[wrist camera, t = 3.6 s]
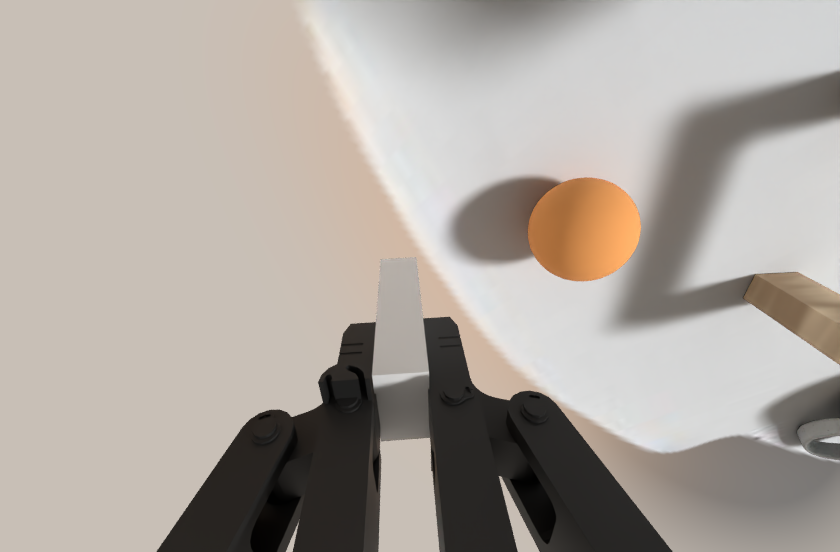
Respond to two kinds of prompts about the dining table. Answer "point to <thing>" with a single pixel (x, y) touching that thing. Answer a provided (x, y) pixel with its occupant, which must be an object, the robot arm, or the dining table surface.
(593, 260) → the ball
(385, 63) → the dining table surface
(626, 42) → the dining table surface
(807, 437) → the ceramic mug
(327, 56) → the dining table surface
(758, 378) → the dining table surface
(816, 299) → the bridge
